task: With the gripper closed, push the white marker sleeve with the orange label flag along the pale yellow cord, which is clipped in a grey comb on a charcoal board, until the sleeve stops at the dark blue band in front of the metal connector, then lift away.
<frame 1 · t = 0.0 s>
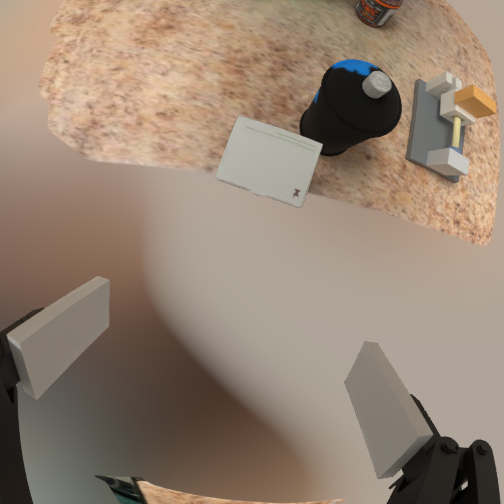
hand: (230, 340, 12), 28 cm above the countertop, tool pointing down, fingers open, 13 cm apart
supplement bottle: (369, 17, 30), on the countertop
aerosol can: (326, 129, 36), on the countertop
cord board: (436, 130, 34), on the countertop
skincare box: (268, 171, 38), on the countertop
sleeve: (466, 105, 25), point 8 cm above the countertop, slide at 0.0 cm
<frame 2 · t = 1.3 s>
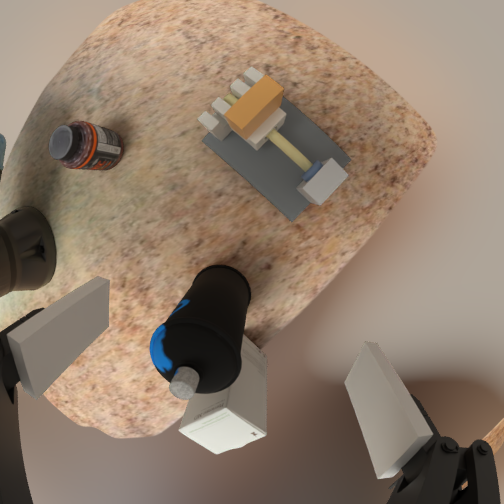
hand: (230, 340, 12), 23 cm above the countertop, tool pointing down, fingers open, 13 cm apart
supplement bottle: (109, 150, 33), on the countertop
aerosol can: (221, 292, 37), on the countertop
cord board: (276, 149, 32), on the countertop
skincare box: (235, 357, 39), on the countertop
sleeve: (255, 115, 24), point 8 cm above the countertop, slide at 0.0 cm
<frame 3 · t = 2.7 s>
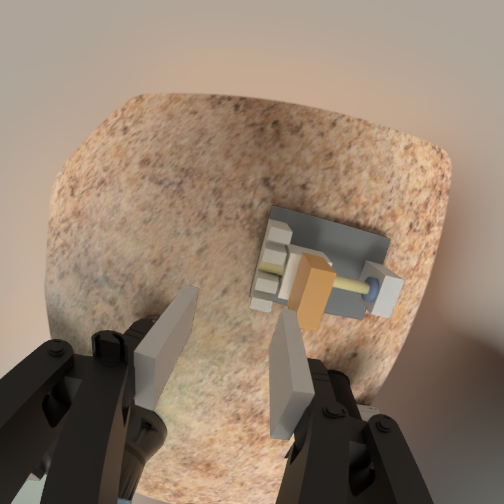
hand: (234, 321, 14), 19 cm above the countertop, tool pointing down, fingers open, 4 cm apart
aerosol can: (324, 388, 37), on the countertop
cord board: (320, 264, 33), on the countertop
sleeve: (305, 281, 24), point 8 cm above the countertop, slide at 0.0 cm
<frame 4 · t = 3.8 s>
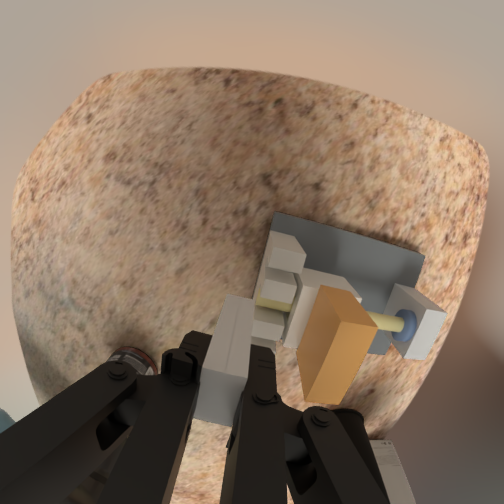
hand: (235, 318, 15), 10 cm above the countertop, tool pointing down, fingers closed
supplement bottle: (136, 364, 28), on the countertop
aerosol can: (333, 427, 29), on the countertop
cord board: (336, 289, 25), on the countertop
skincare box: (363, 452, 31), on the countertop
sleeve: (323, 325, 16), point 8 cm above the countertop, slide at 0.0 cm
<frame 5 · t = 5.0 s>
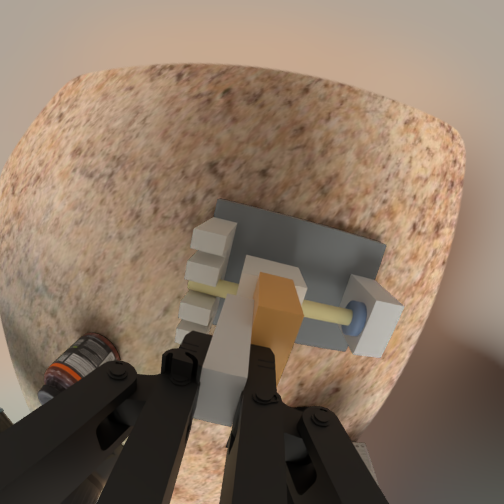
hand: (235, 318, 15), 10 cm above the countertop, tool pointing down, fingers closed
supplement bottle: (101, 350, 28), on the countertop
cord board: (288, 278, 24), on the countertop
sleeve: (265, 314, 16), point 8 cm above the countertop, slide at 1.0 cm, touching gripper
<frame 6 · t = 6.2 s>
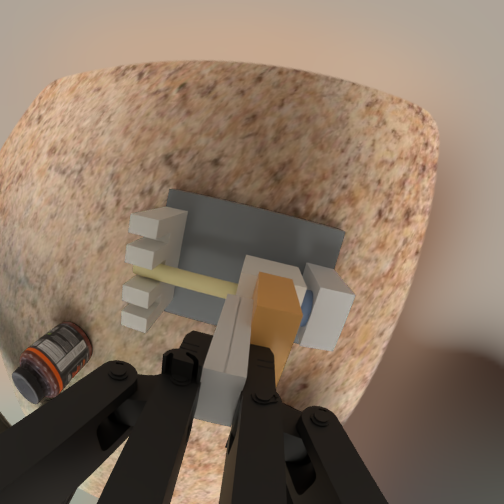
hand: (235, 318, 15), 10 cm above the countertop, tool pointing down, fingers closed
supplement bottle: (76, 339, 28), on the countertop
cord board: (243, 267, 24), on the countertop
sleeve: (265, 314, 16), point 8 cm above the countertop, slide at 5.2 cm, touching gripper
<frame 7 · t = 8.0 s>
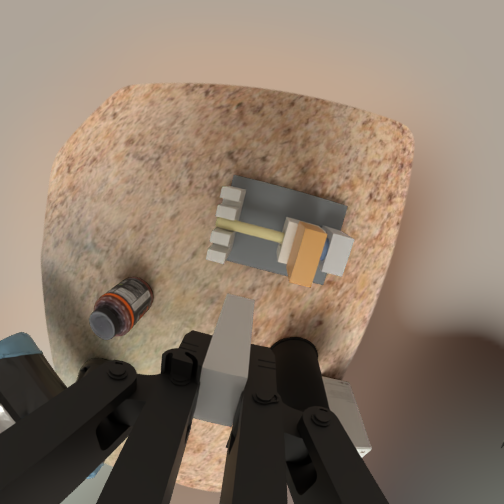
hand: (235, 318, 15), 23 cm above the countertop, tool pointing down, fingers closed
supplement bottle: (138, 293, 40), on the countertop
aerosol can: (292, 357, 41), on the countertop
cord board: (280, 229, 36), on the countertop
skincare box: (324, 393, 42), on the countertop
sleeve: (302, 247, 28), point 8 cm above the countertop, slide at 5.2 cm
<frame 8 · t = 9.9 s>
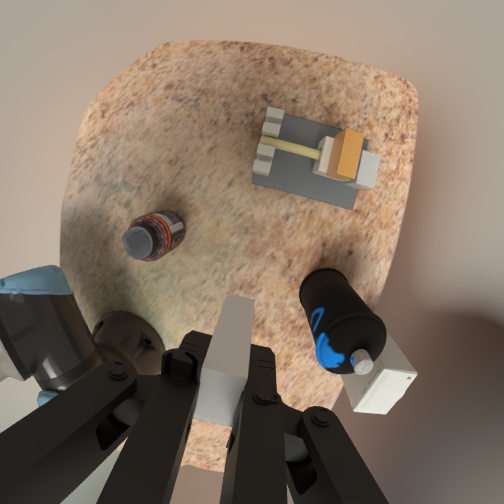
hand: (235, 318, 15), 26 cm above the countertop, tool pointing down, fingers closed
supplement bottle: (168, 229, 41), on the countertop
aerosol can: (324, 292, 42), on the countertop
cord board: (311, 160, 37), on the countertop
skincare box: (355, 336, 44), on the countertop
sleeve: (339, 157, 29), point 8 cm above the countertop, slide at 5.2 cm
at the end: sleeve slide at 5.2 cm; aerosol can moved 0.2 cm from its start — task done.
